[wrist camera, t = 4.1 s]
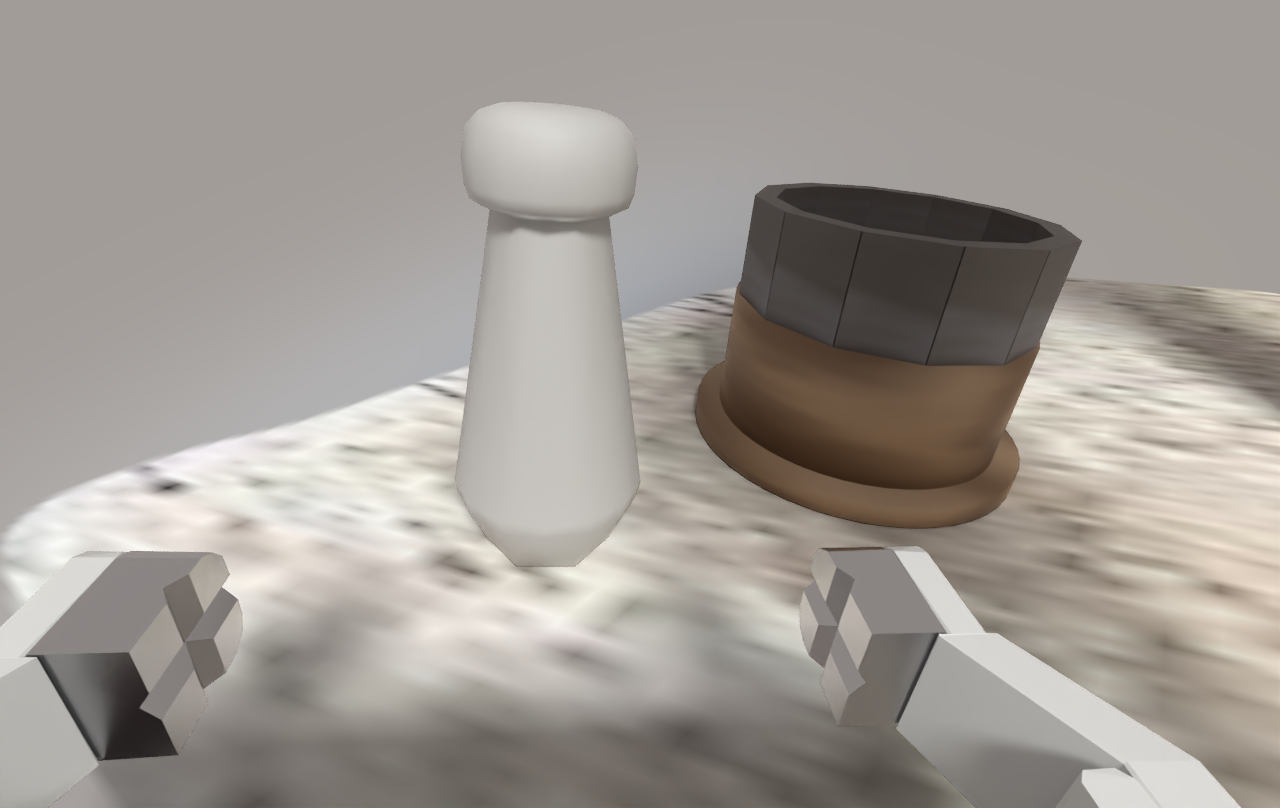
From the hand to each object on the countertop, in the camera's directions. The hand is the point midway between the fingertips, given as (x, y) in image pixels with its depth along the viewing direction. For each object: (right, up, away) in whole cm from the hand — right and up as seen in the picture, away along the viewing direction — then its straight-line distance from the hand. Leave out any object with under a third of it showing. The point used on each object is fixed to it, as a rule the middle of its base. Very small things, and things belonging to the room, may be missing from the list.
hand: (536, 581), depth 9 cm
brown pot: (+11, +1, +20) cm, 23 cm away
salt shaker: (-2, -2, +12) cm, 12 cm away
